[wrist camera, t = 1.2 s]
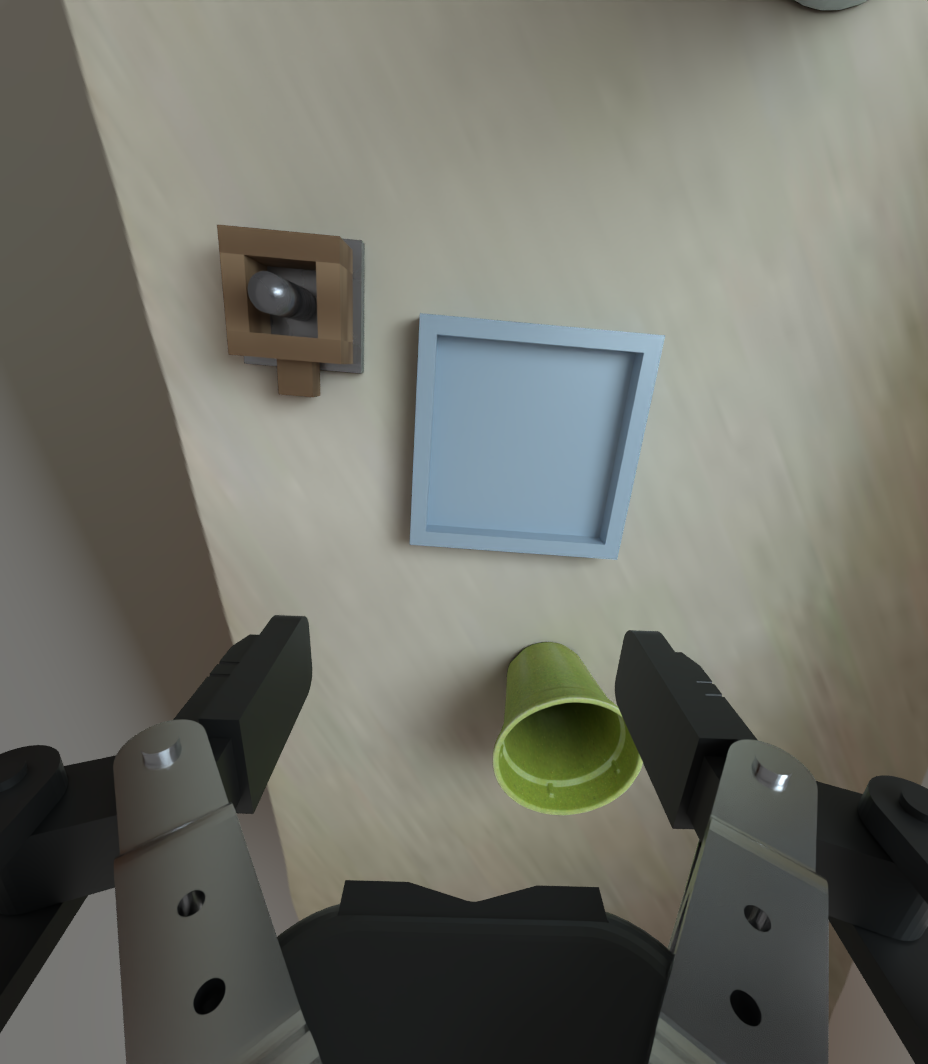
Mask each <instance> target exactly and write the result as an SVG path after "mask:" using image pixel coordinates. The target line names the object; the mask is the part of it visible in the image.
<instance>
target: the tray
mask: <svg viewBox="0 0 928 1064" xmlns="http://www.w3.org/2000/svg"><path fill="white" fill-rule="evenodd" d="M664 339H665V335H654V334H643V333H632V332H621V331H610V330H599V329H588V328H577V327H566V326H554V325H543V324H532V323H521V322H510V321H499V320H488V319H477V318H466V317H455V316H444V315H433V314H422V313H420V322H419V345H418V368H417V390H416V413H415V436H414V459H413V481H412V504H411V527H410V545H422V546H436V547H450V548H463V549H477V550H491V551H505V552H519V553H532V554H546V555H560V556H574V557H588V558H601V559H615V560H617V557H618V553H619V548H620V543H621V539H622V534H623V529H624V525H625V520H626V516H627V511H628V506H629V502H630V497H631V492H632V488H633V483H634V478H635V474H636V469H637V464H638V460H639V455H640V450H641V446H642V441H643V436H644V432H645V427H646V422H647V418H648V413H649V408H650V404H651V399H652V394H653V390H654V385H655V380H656V376H657V371H658V366H659V362H660V357H661V352H662V348H663V343H664Z"/></svg>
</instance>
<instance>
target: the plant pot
mask: <svg viewBox="0 0 928 1064" xmlns="http://www.w3.org/2000/svg"><path fill="white" fill-rule="evenodd" d="M642 764H643V762H642V759H641V757H640V755H639V753H638V750H637V748H636V746H635V744H634V741H633V739H632V737H631V735H630V733H629V730H628V728H627V726H626V724H625V721H624V719H623V717H622V715H621V712H620V710H619V708H618V706H616V705H615V704H614V703H613V702H612V701H610V700H609V699H608V698H607V697H606V695H605V694H604V693H603V691H602V690H601V688H600V687H599V685H598V684H597V683H596V681H595V680H594V678H593V677H592V675H591V674H590V672H589V671H588V669H587V668H586V666H585V665H584V663H583V662H582V661H581V659H580V658H579V656H578V655H577V654H576V653H574V652H573V651H572V650H570V649H569V648H567V647H566V646H564V645H561V644H558V643H552V642H543V643H537V644H534V645H531V646H529V647H527V648H525V649H524V650H523V651H522V652H521V653H520V654H519V655H518V656H517V657H516V658H515V659H514V660H513V661H512V662H511V663H510V665H509V668H508V672H507V685H506V704H505V716H504V725H503V727H502V730H501V732H500V734H499V736H498V738H497V740H496V743H495V746H494V750H493V768H494V773H495V777H496V779H497V781H498V783H499V785H500V786H501V788H502V789H503V790H504V792H505V793H506V794H507V795H508V796H509V797H510V798H512V799H513V800H514V801H515V802H517V803H518V804H520V805H522V806H524V807H526V808H528V809H531V810H534V811H537V812H541V813H545V814H551V815H571V814H579V813H584V812H588V811H591V810H594V809H596V808H599V807H601V806H604V805H606V804H608V803H610V802H612V801H613V800H615V799H616V798H618V797H619V796H620V795H622V794H623V793H624V792H625V791H626V790H627V789H628V788H629V787H630V786H631V784H632V783H633V782H634V780H635V779H636V777H637V775H638V774H639V772H640V770H641V767H642Z"/></svg>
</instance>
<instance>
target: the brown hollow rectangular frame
mask: <svg viewBox="0 0 928 1064" xmlns="http://www.w3.org/2000/svg"><path fill="white" fill-rule="evenodd" d="M217 229H218V240H219V252H220V263H221V274H222V285H223V297H224V308H225V319H226V330H227V342H228V353H229V355H240V356H252V357H263V358H275V359H277V374H278V392H279V394H281V395H293V396H305V397H316V396H320V362H322V363H333V364H353V250H352V249H351V248H350V247H349V246H348V245H347V244H346V243H345V241H344V240H343V239H342V238H341V237H340V236H331V235H320V234H310V233H299V232H289V231H278V230H268V229H258V228H247V227H237V226H226V225H217ZM267 266H271V267H281V268H292V269H303V270H314V271H316V283H317V322H318V338H308V337H297V336H286V335H274V334H271V324H270V314H269V313H265V312H262V311H260V310H258V309H257V308H256V307H255V306H254V305H253V304H252V302H251V300H250V298H249V295H248V283H249V280H250V278H251V277H252V276H253V275H254V274H255V273H257V272H260V271H267Z"/></svg>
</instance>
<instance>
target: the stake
mask: <svg viewBox="0 0 928 1064" xmlns="http://www.w3.org/2000/svg"><path fill="white" fill-rule="evenodd" d="M343 240H344V241H345V243H346V244H347V245H348V246H349V247H350V248H351V249H352V250H353V364H333V363H322V362H320V370H329V371H341V372H352V373H364V243H363V241H362V240H352V239H343ZM248 295H249V298H250V300H251V302H252V304H253V305H254V306H255V307H256V308H257V309H258V310H260V311H262V312H265V313H269V314H270V324H271V334H274V335H286V336H297V337H308V338H318V322H317V283H316V271H314V270H303V269H292V268H281V267H271V266H267V271H260V272H257V273H255V274H254V275H253V276H252V277H251V278H250V280H249V283H248ZM244 363H247V364H259V365H271V366H277V359H275V358H263V357H252V356H244Z"/></svg>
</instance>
